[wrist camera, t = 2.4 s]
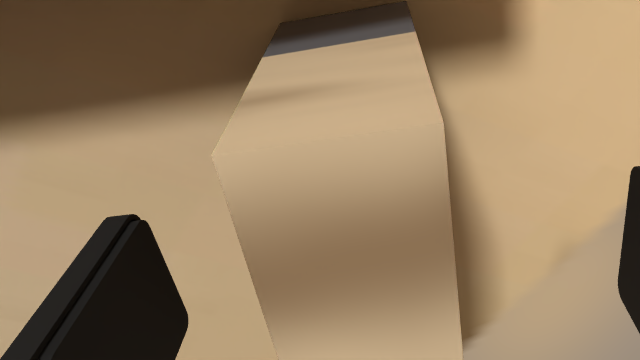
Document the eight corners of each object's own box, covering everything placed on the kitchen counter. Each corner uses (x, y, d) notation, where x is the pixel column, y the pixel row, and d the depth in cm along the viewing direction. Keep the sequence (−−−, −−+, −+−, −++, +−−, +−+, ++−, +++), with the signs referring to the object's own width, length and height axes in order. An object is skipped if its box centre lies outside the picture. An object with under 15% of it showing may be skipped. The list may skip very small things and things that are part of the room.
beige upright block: (424, 168, 19) (464, 371, 12) (316, 182, 20) (286, 383, 12) (406, 0, 16) (443, 122, 9) (280, 23, 17) (211, 155, 9)
